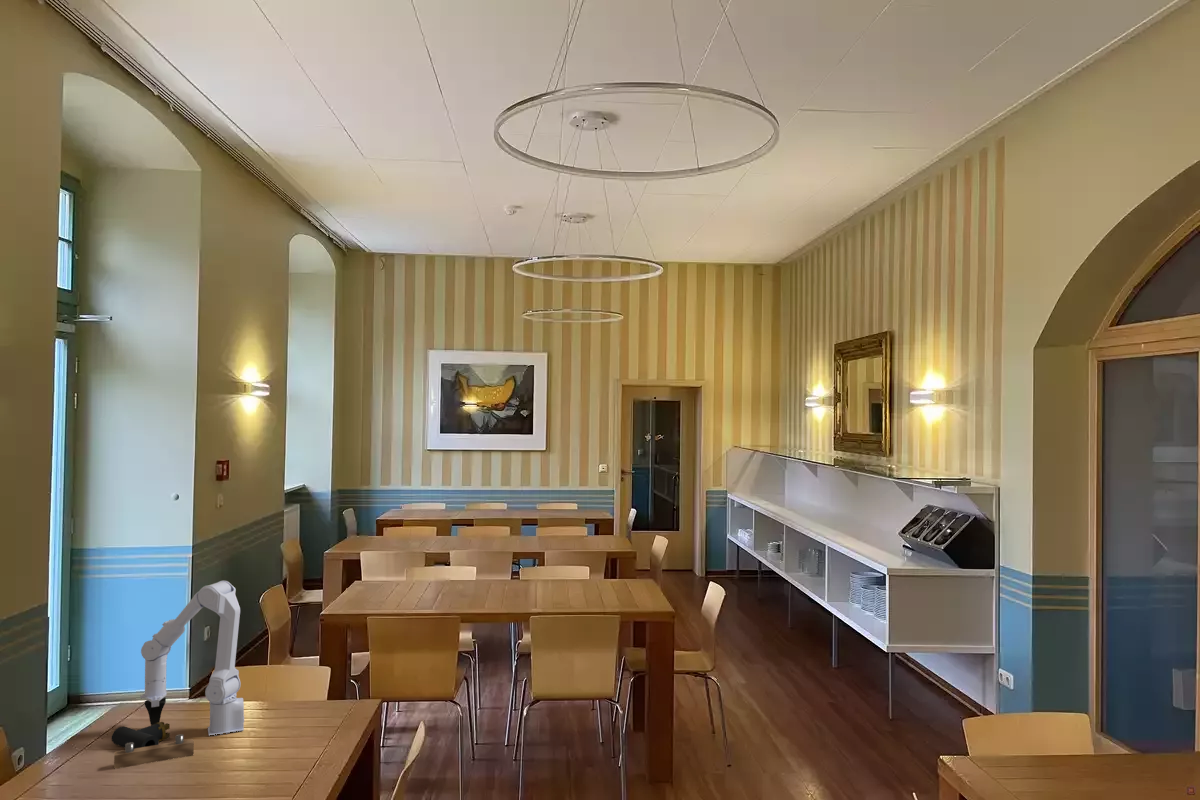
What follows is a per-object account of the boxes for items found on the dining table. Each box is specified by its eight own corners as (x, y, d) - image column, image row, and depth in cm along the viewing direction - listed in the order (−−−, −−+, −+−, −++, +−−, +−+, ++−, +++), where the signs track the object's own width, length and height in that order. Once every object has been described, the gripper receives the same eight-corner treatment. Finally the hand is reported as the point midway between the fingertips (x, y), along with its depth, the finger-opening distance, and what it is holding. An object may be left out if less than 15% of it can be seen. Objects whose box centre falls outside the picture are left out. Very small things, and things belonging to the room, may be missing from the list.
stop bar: (193, 751, 229) (193, 731, 230) (193, 755, 227) (193, 735, 227) (114, 765, 220) (114, 744, 220) (114, 769, 218) (114, 748, 218)
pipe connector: (150, 716, 244) (180, 725, 236) (151, 734, 244) (180, 743, 236) (111, 729, 234) (141, 738, 226) (111, 747, 234) (141, 758, 226)
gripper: (140, 674, 252) (140, 719, 252) (140, 687, 240) (139, 734, 239) (166, 671, 256) (166, 715, 255) (167, 683, 243) (166, 729, 242)
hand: (154, 724), depth 247 cm, fingers closed
